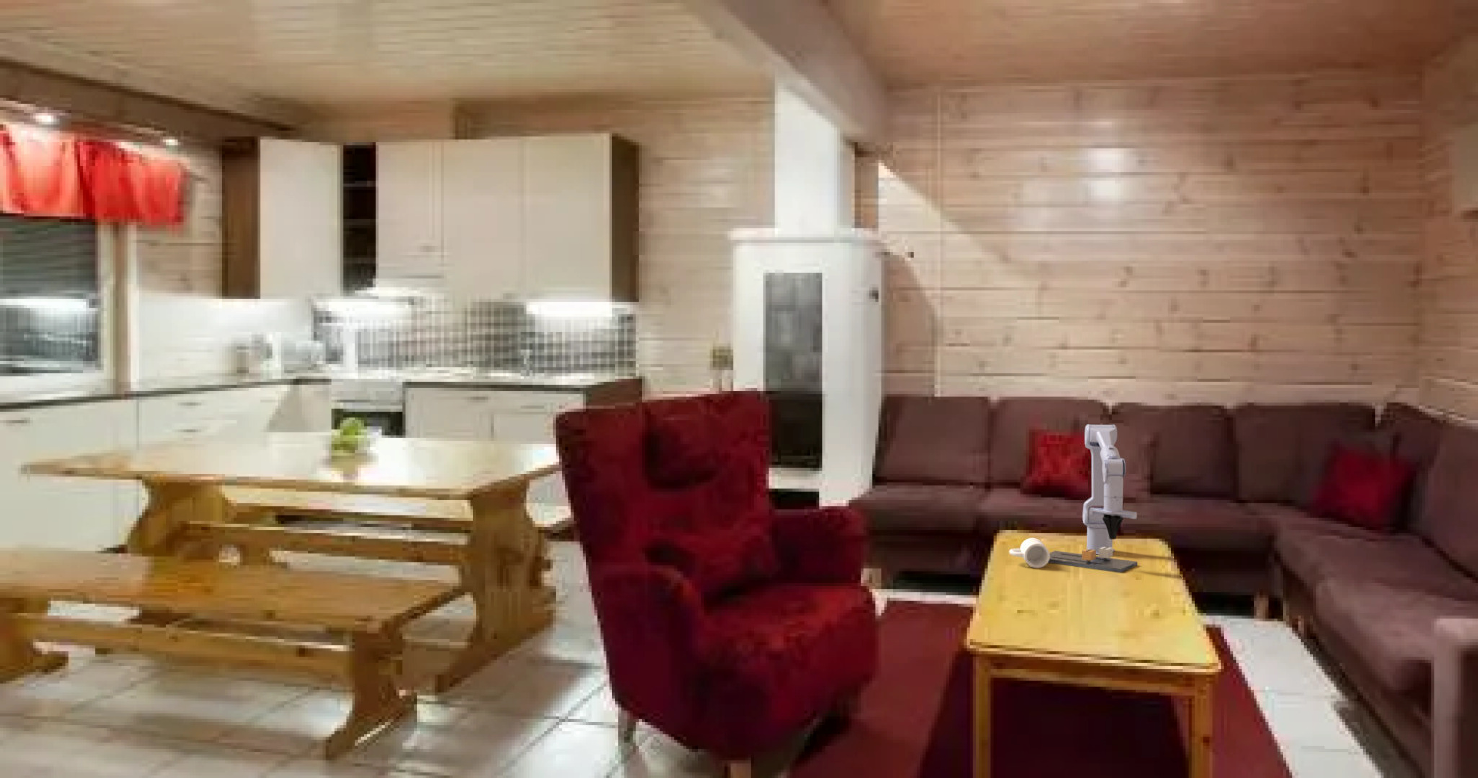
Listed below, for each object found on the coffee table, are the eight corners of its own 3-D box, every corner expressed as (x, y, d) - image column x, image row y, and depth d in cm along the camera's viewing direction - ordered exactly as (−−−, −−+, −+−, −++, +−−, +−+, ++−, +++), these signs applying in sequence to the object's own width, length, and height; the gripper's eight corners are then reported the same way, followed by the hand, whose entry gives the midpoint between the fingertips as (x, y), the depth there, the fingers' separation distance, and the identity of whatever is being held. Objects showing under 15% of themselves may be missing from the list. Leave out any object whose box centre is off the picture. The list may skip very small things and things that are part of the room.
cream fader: (1103, 557, 374) (1103, 546, 374) (1112, 558, 372) (1112, 547, 372) (1098, 559, 371) (1099, 548, 371) (1107, 560, 369) (1108, 549, 369)
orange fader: (1086, 559, 371) (1086, 548, 370) (1095, 560, 369) (1095, 549, 368) (1081, 561, 367) (1081, 550, 367) (1090, 562, 366) (1091, 551, 365)
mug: (1044, 562, 375) (1044, 538, 374) (1049, 568, 365) (1050, 543, 364) (1007, 561, 376) (1007, 537, 375) (1011, 567, 366) (1011, 543, 365)
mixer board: (1055, 554, 387) (1055, 550, 386) (1137, 565, 369) (1137, 561, 369) (1037, 561, 375) (1037, 557, 375) (1120, 572, 358) (1121, 568, 358)
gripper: (1086, 495, 364) (1085, 538, 365) (1131, 500, 355) (1130, 543, 356) (1095, 493, 370) (1094, 534, 370) (1139, 497, 361) (1138, 540, 361)
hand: (1112, 538), depth 364 cm, fingers closed
